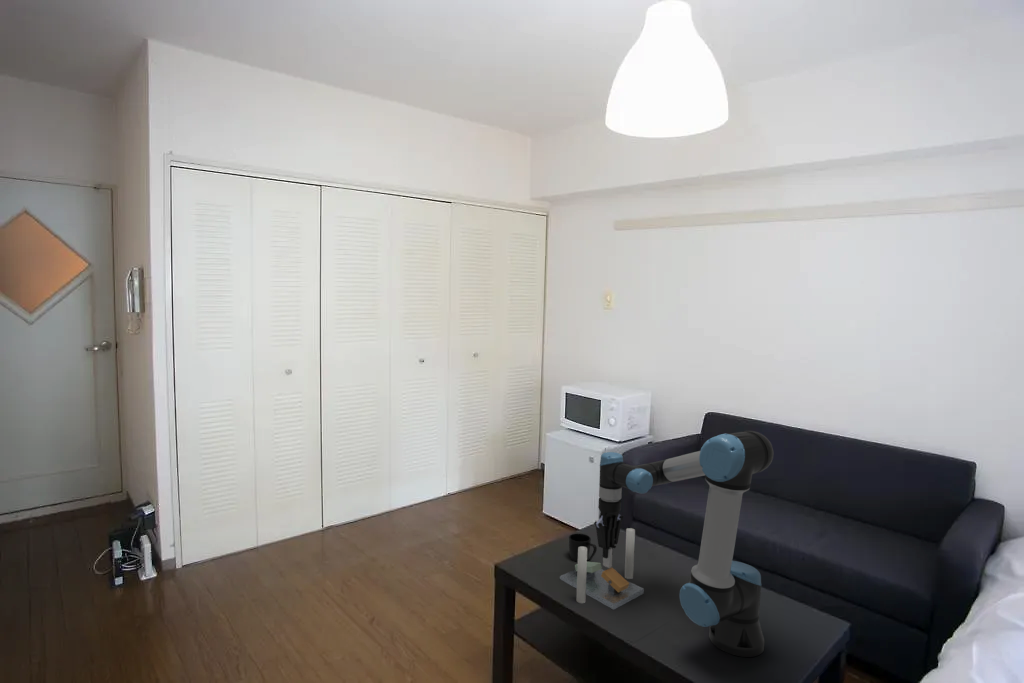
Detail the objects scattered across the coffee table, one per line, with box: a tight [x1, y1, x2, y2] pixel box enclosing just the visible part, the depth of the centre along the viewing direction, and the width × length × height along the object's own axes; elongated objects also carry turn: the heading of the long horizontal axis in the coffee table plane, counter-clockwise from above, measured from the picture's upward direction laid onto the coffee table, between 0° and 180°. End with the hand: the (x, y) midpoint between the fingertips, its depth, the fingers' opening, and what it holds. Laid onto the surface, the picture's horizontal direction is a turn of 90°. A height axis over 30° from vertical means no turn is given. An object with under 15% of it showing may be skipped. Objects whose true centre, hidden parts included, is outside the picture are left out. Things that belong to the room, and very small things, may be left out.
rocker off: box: [601, 567, 630, 593], centre depth 191 cm, size 8×6×2 cm
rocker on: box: [574, 561, 603, 573], centre depth 200 cm, size 8×6×2 cm
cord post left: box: [575, 546, 588, 604], centre depth 185 cm, size 3×3×18 cm
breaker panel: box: [559, 568, 645, 610], centre depth 195 cm, size 24×16×4 cm, turn 41°
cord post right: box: [624, 527, 636, 580], centre depth 202 cm, size 3×3×18 cm
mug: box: [568, 533, 598, 563], centre depth 214 cm, size 8×12×10 cm
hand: (607, 566), depth 193 cm, fingers closed
